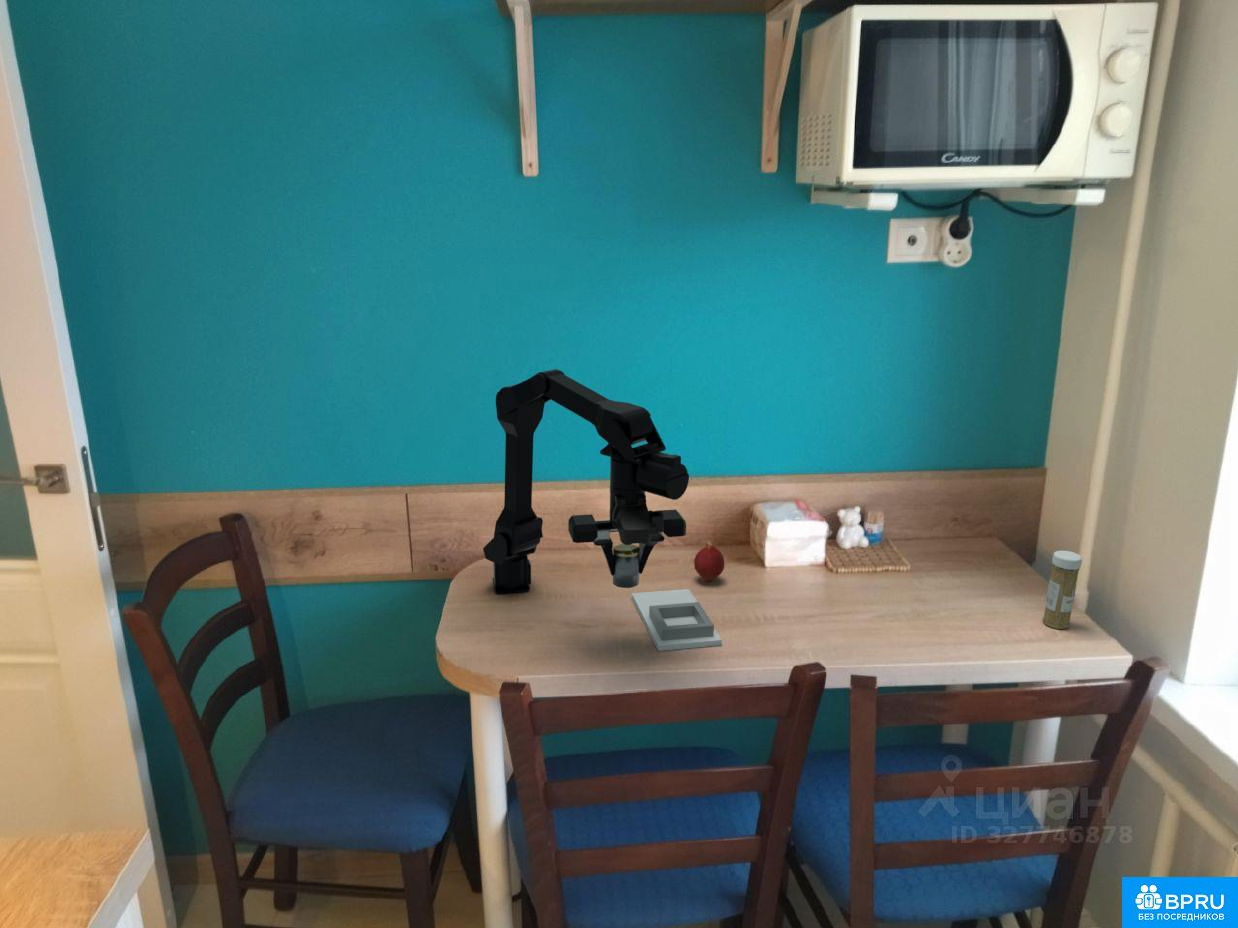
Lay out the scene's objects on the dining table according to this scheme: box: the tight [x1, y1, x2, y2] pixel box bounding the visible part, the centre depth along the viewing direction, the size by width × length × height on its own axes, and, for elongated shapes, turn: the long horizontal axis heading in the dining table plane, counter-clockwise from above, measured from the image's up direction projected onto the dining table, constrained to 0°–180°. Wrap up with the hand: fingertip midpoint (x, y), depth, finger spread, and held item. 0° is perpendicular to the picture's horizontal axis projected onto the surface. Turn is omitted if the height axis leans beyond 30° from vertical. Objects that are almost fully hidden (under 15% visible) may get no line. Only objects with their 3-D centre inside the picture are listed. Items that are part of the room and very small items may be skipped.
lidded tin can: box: [612, 543, 640, 589], centre depth 153 cm, size 4×4×6 cm
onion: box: [693, 542, 725, 582], centre depth 178 cm, size 6×6×8 cm
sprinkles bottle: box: [1042, 550, 1083, 630], centre depth 163 cm, size 5×5×14 cm
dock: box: [631, 588, 723, 652], centre depth 163 cm, size 11×20×3 cm, turn 12°
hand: (626, 573), depth 154 cm, fingers closed on lidded tin can, 4 cm apart
